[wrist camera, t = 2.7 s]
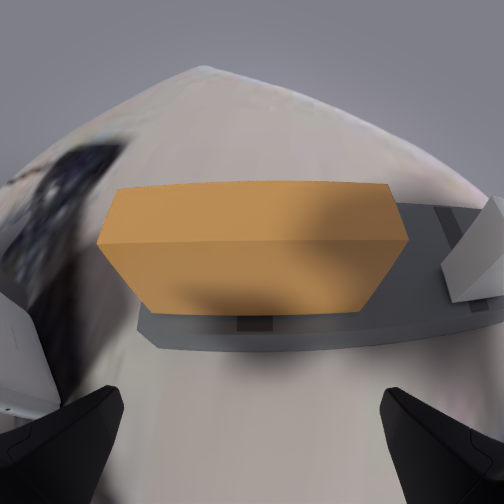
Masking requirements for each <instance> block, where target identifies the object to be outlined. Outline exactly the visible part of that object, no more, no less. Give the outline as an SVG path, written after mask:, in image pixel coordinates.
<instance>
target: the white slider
mask: <svg viewBox="0 0 504 504" xmlns="http://www.w3.org/2000/svg"><path fill="white" fill-rule="evenodd" d="M441 267H442V270H443V273H444V276H445V280H446V283H447V286H448V290H449V293H450V297H451V300H452V303H455V302H462V301H470V300H476V299H483V298H489V297H496V296H502V295H504V198H502V197H495V196H491V197H490V199H489V200H488V202H487V203H486V205H485V206H484V208H483V209H482V211H481V212H480V214H479V215H478V216H477V218H476V219H475V221H474V222H473V223H472V225H471V226H470V227H469V229H468V230H467V232H466V233H465V234H464V235H463V237H462V238H461V239H460V241H459V242H458V243H457V245H456V246H455V247H454V248H453V250H452V251H451V252H450V253H449V255H448V256H447V257H446V258H445V259H444V261H443V262H442V263H441Z"/></svg>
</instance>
